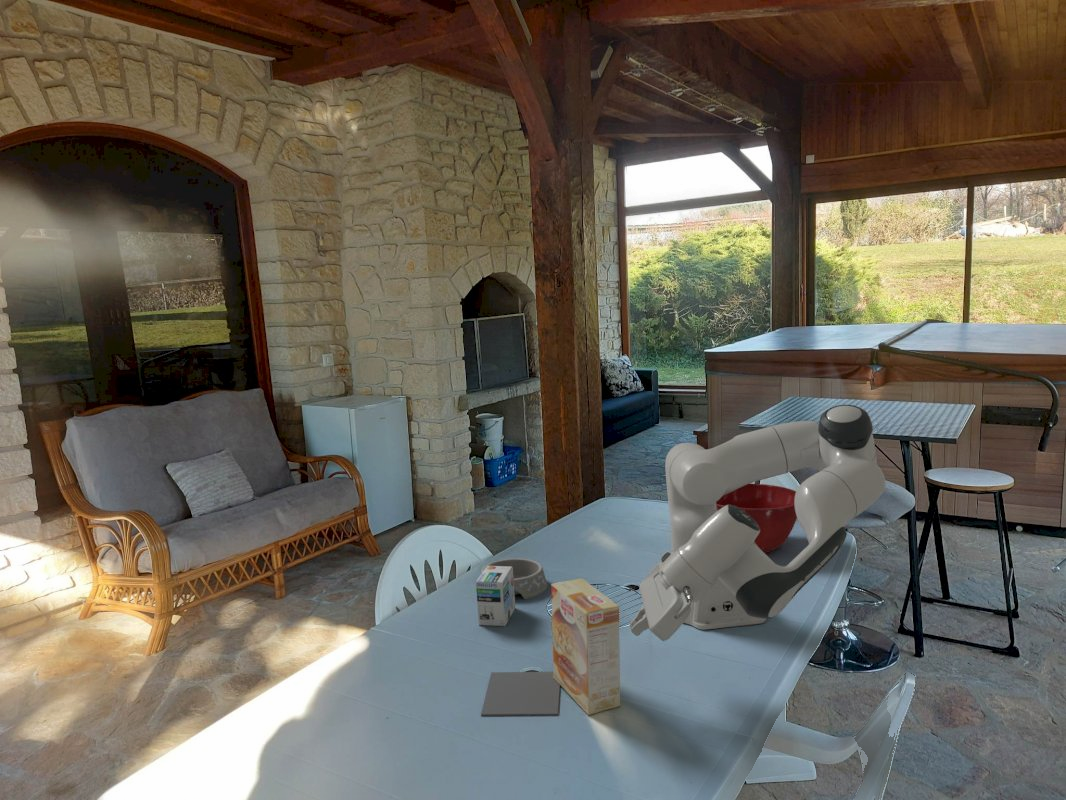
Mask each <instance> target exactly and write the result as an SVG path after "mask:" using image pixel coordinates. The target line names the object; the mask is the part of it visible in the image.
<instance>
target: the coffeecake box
mask: <svg viewBox="0 0 1066 800" xmlns="http://www.w3.org/2000/svg"><path fill="white" fill-rule="evenodd" d="M550 586H551V620H552V621H551V625H552V627H551V628H552V656H553V657H552V658H553V659H552V660H553V664H552V665H553V672H554V676H553V678H554V679H555V680H556V681H557V682H558V683H559V684H560V687H562V689H564V691H565V692H566V693H567V694H568V695H569V696H570V697H571V698H572V699H573V700H574V701H575V702H576V703H577V704H578V706H579V707H580V708H581V709H582V710H583V711H584V713H586V714H587V716H590V715H594V714H597V713H600V712H604V711H606V710H607V711H608V710H612V709H615V708H618V707H621V663H620V662H621V659H620V658H621V657H620V656H621V655H620V653H621V652H620V651H621V650H620V648H621V647H620V606H619V605H618V604H617V603H615V602H614V601H613V600H611V599H610V598H609V597H608V596H606V595H605V594H603V592H601V591H599V590H598V589H597V588H595V587H594V586H593V585H591V584H590V583H588V582H587V581H586V580H585V579H583V578H576V579H575V578H574V579H572V580H566V581H559V582H554V583H551V584H550Z"/></svg>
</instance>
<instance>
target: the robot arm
mask: <svg viewBox="0 0 1066 800" xmlns="http://www.w3.org/2000/svg"><path fill="white" fill-rule="evenodd" d="M869 415H870V414H869V413H868V412H867V411H866V409H864V408H861V407H859V406H857V405H853V404H839V405H834V406H832V407H830V408H828V409H826V410H825V411H823V412H822V414H821V415H820V417H819V422H816V421H814V420H799V421H797V420H796V421H791V422H789V421H788V422H784V423H780V424H775V425H771V426H767V427H763V428H760V429H756V430H753V431H748V432H745V433H742V434H738V435H736V436H734V437H733V438H731V439H729V440H728V441H726V442H724V443H721V444H719V445H716V446H714V447H712V448H708V449H707V448H706V449H705V448H704V447H703V446H701V445H700V444H698V443H692V442H680V443H678V444H676V445H673V446H672V447H671V448H670V449H669V451H668V452H667V455H666V457H665V460H664V462H665V464H664V466H665V468H664V469H665V483H666V492H667V493H666V494H667V501H668V510H669V511H668V512H669V521H670V542H671V543H670V544H671V545H670V546H671V547H670V549H671V551H669V550H666V551H665V552H664V553H663V554H662V555H661V557H660V558H659V559H660V561H659V562H658V563H656V564H655V565H654V566H653V567H652V569H651V570H650V571H649V572H648V573H647V575H645V577H644V578H643V579H642V581H641V583H640V585H639V587H638V588H639V592H640V596H641V601H642V603H643V604H642V605H641V607H639V609H638V611H637V613H636V615H635V617H634V618H633V619H632V620H631V621H630V623H629V627H630V631H631V633H632V634H634V636H636V637H638V636H640V635H641V634H642V633H643V632H644V631H646V630H649V631H650V632H651V633H652V634H654V636H656V637H657V638H658V639H660V640H661V641H662V642H666V641H668V640H669V639H671V637H673V635H675V633H676V632H677V631H678V630H679V629H680V627H681V626H682V625H684V624H687V625H690V626H693V627H694V628H696V629H698V630H703V631H704V630H712V629H724V628H732V627H741V626H751V625H758V624H759V625H761V624H764V623H765V622H766V620H768V619H769V620H770V619H773V618H775V617H776V616H777V615H779V614H780V613H781V612H783V610H784V609H785V608H786V607H787V606H788V604H790V602H791V601H792V600H793V599H794V597H795V596H796V595H797V594H798V593H799V592H800V591H801V590H802V589H803V588H804V587H805V585H806V584H807V583H809V582H810V580H811V579H813V578H814V577H815V575H817V574H818V573H819V572H820V571H821V570H822V569H823V568H824V567H825V566H826V565H827V564H828V563H829V562H830V561H831V560H832V558H834V556H835V555H837V553H838V552H839V551H840V550H841V548H842V546H843V545H844V543H845V541H846V538H847V534H848V533H847V530H846V526H847V524H848V523H849V522H850V521H851V520H853V519H854V518H856V517H857V516H859V515H860V514H862V513H863V512H864V511H866V510H867V509H868V508H869V507H871V506H872V505H873V504H874V502H876V501H877V500H878V499H879V498H880V497H881V496H882V494H883V493H884V492H885V489H886V477H885V475H884V472H883V470H882V469H881V467H880V466H879V465H878V462H877V459H878V457H877V456H878V455H877V450H876V446H875V445H876V444H875V439H874V434H873V428H874V426H873V423H872V420H871V418H870V416H869ZM808 468H809V469H813V470H816V471H817V472H816V473H814V474H812V475H811V476H809V477H807V478H806V479H805V480H804V481H803V482H801V484H800V485H799V486H797V489H796V490H795V491H796V494H795V499H794V506H795V512H796V516H797V519H796V520H797V521H798V523H799V525H800V527H801V529H802V531H803V533H804V534H805V536H806V539H807V542H808V545H807V546H805V548H804V549H803V550H802V551H800V552H799V553H798V554H797V556H795V557H794V558H793V559H792V560H791V561H790V562H789V563H788V564H787V565H785V566H782V565H779V564H776V563H775V562H774V561H773V560H772V559H771V558H770V557H769V556H768V555H767V553H764V552H763V551H762V550H761V549H760V548H759V547H758V546H757V545H756V544H755V543H754V542H755V541H754V540H755V539H756V537H757V536H758V534H759V533H760V528H759V526H758V524H757V523H756V521H755V520H754V519H753V518H752V517H751V516H750V515H749V514H747V513H746V512H744V511H743V510H742V509H740V508H739V507H737V506H734V505H726V506H724V507H723V508H721V509H720V510H718V511H717V505H716V501H718V500H719V499H720V498H721V497H722V496H723V495H726V494H728V493H730V492H732V491H734V490H736V489H738V488H741V487H743V486H745V485H747V484H753V483H755V482H756V483H757V482H759V481H762V480H766V479H769V478H773V477H777V476H781V475H784V474H788V473H792V472H795V471H797V470H798V471H799V470H801V469H808Z"/></svg>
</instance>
